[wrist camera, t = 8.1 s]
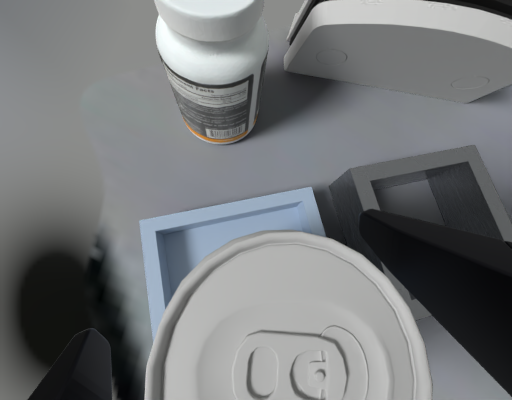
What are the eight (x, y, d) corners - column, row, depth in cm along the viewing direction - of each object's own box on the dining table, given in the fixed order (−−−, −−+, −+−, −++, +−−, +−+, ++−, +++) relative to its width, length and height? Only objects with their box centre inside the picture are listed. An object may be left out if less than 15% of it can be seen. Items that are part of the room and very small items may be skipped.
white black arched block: (464, 57, 23) (631, -36, 13) (453, 109, 23) (606, 58, 13) (287, 24, 22) (320, -102, 12) (279, 78, 23) (304, -1, 13)
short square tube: (481, 280, 18) (539, 284, 14) (367, 311, 16) (401, 324, 13) (433, 165, 20) (474, 144, 16) (328, 186, 19) (349, 168, 15)
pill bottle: (207, 72, 20) (182, -101, 11) (269, 103, 20) (302, -45, 10) (169, 126, 19) (100, -18, 9) (235, 161, 18) (237, 49, 9)
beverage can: (284, 336, 15) (461, 589, 3) (204, 331, 15) (94, 589, 3) (288, 255, 16) (428, 235, 5) (214, 248, 16) (165, 209, 4)
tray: (344, 354, 16) (364, 370, 13) (175, 404, 14) (163, 433, 12) (301, 196, 18) (311, 186, 16) (153, 226, 17) (139, 220, 14)
